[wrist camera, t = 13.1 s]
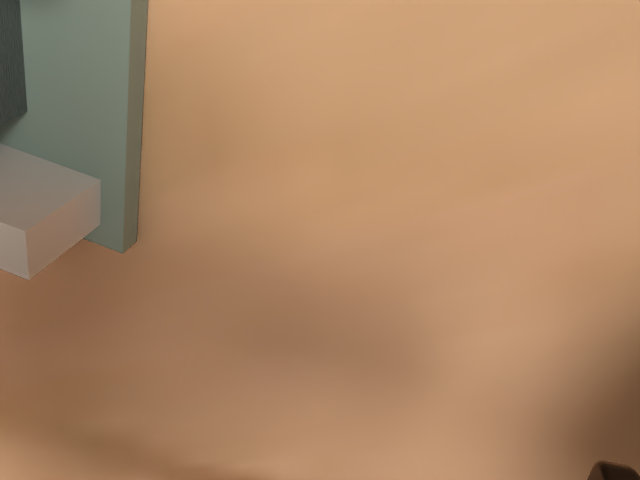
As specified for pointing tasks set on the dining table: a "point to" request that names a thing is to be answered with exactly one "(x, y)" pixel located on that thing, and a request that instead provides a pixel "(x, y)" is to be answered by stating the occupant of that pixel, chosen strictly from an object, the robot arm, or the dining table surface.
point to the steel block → (11, 62)
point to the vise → (74, 132)
